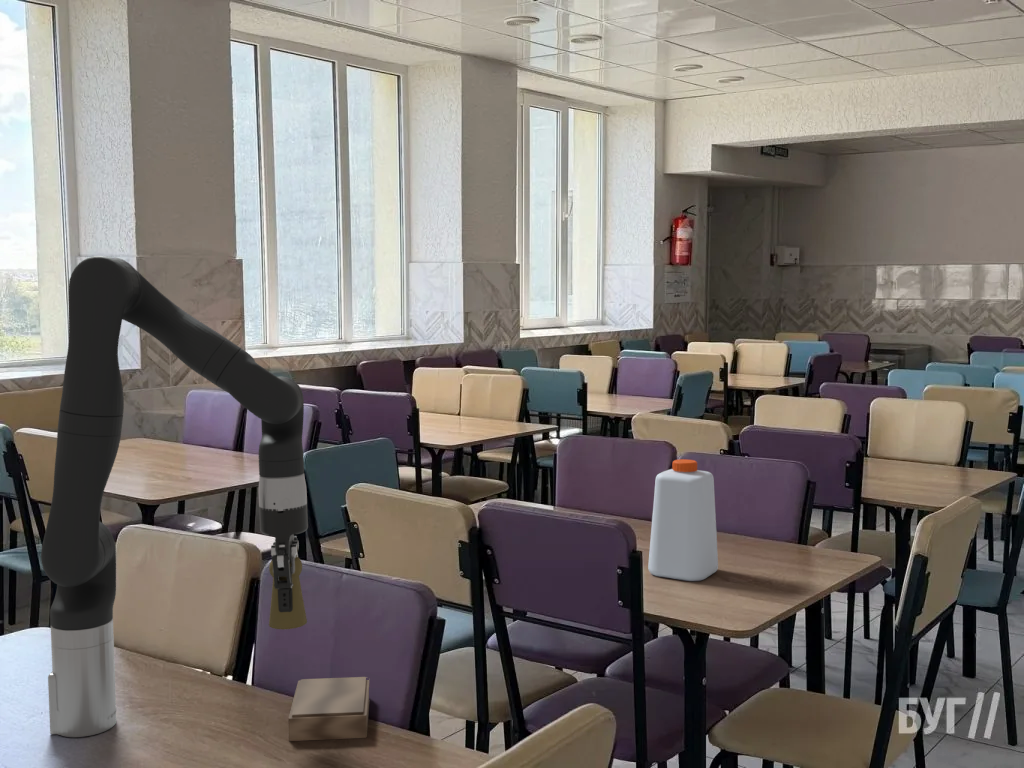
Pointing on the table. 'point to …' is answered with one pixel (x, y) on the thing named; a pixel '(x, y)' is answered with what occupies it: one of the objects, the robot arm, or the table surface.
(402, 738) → the table surface
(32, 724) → the table surface
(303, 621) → the cork
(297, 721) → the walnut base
